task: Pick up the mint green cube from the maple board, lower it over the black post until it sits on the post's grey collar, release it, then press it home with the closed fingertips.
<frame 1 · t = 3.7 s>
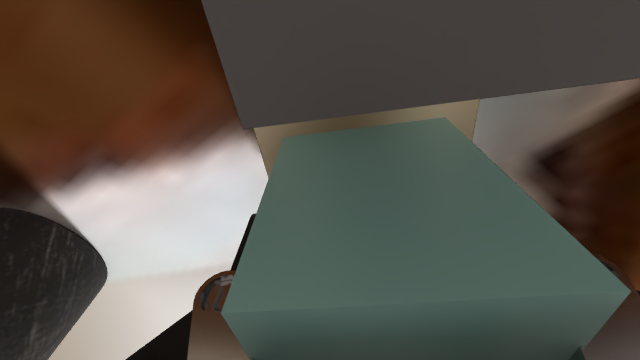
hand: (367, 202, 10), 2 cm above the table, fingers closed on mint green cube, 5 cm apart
travel mug: (44, 253, 15), on the table
mint green cube: (365, 192, 11), point 1 cm above the table, touching board, gripper
board: (358, 97, 9), on the table
when the fingers open (4 cm above the table, at t = 8.0 s): mint green cube stays where it is, resting on post.
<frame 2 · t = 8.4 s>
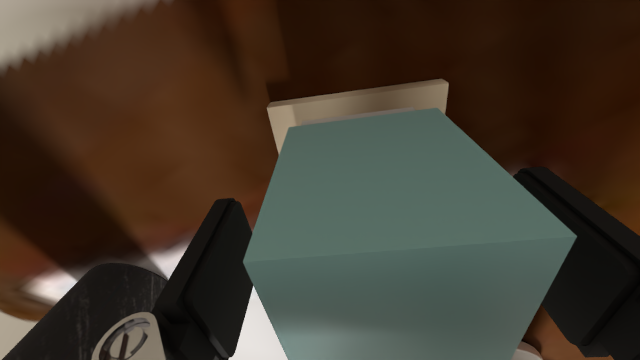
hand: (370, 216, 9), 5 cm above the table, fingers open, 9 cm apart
travel mug: (136, 290, 21), on the table
post: (359, 161, 13), resting on board
mint green cube: (364, 179, 11), point 2 cm above the table, touching post
board: (361, 208, 15), on the table
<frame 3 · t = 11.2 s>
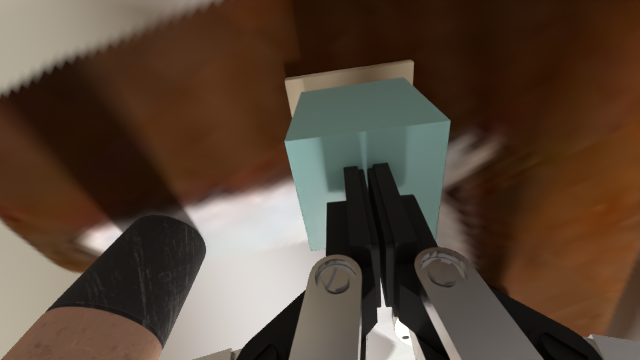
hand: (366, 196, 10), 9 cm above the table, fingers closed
travel mug: (170, 241, 25), on the table
mint green cube: (355, 132, 16), point 2 cm above the table, touching gripper, post
board: (354, 164, 20), on the table
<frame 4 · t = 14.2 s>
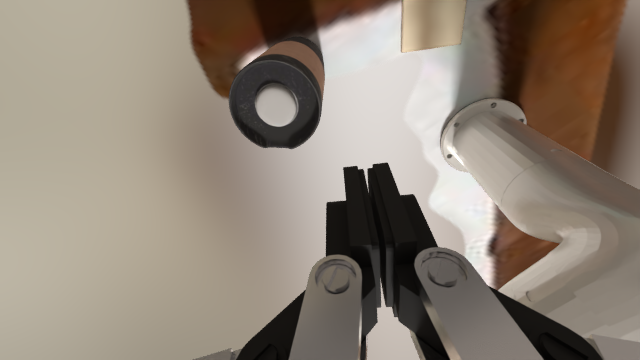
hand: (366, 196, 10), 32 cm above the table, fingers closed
travel mug: (299, 64, 38), on the table
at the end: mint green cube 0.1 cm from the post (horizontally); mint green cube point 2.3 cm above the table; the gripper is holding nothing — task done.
